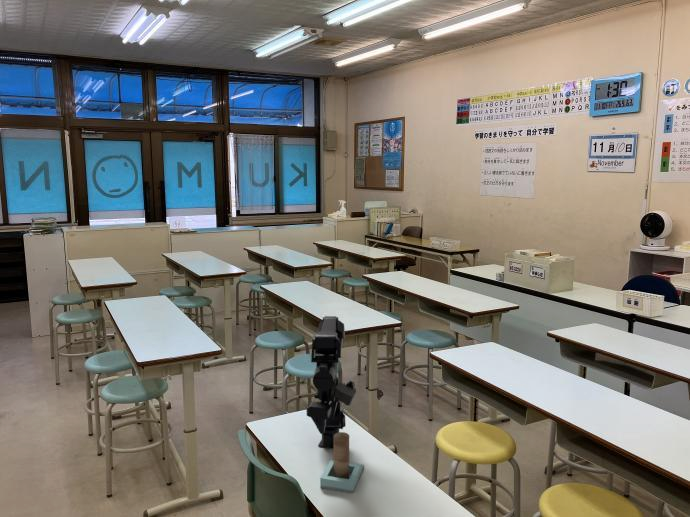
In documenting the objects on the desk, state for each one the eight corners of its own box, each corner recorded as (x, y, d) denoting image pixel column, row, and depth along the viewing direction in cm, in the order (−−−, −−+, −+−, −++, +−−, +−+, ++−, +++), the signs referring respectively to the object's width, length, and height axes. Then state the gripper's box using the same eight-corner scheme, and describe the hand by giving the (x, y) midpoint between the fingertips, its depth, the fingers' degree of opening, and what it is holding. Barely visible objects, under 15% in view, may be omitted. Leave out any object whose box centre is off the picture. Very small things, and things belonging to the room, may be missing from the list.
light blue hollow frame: (333, 462, 163) (333, 453, 162) (364, 467, 160) (364, 458, 160) (320, 487, 150) (320, 478, 150) (353, 493, 148) (352, 483, 147)
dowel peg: (338, 471, 156) (338, 430, 154) (351, 476, 154) (352, 434, 152) (330, 479, 153) (330, 437, 150) (344, 484, 150) (344, 441, 148)
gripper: (344, 392, 144) (344, 446, 147) (361, 366, 162) (361, 415, 165) (305, 388, 147) (306, 440, 150) (325, 363, 165) (326, 410, 168)
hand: (327, 426), depth 158 cm, fingers open, 9 cm apart
